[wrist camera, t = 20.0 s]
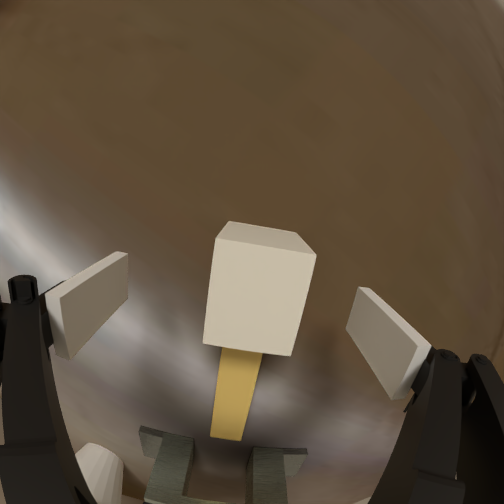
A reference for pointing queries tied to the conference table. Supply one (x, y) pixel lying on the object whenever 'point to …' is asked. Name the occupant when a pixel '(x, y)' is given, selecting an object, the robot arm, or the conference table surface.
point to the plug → (252, 311)
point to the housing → (181, 461)
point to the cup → (101, 473)
